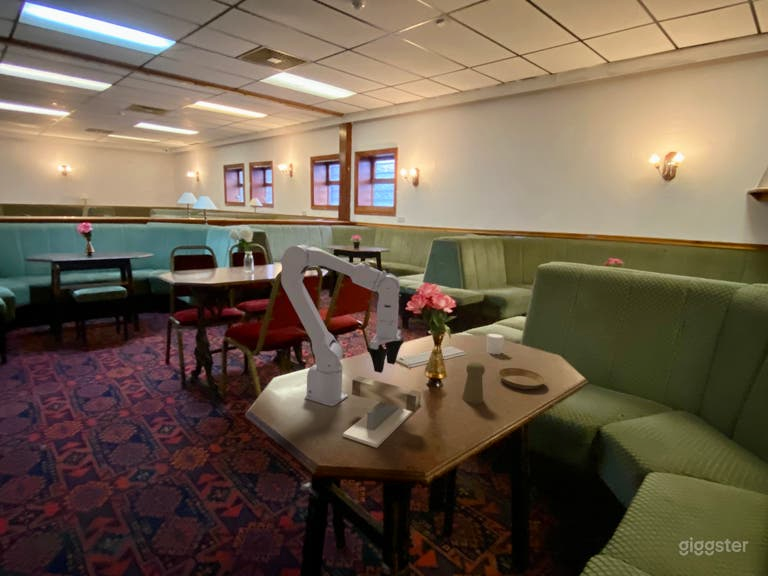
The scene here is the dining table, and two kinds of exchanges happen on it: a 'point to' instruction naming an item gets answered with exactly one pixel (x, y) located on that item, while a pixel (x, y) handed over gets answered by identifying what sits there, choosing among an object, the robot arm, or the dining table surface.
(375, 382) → the shiny metallic bar
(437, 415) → the dining table surface
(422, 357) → the baseboard
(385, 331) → the robot arm
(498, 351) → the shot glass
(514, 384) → the plant saucer
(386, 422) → the ridge stand
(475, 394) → the pepper mill
